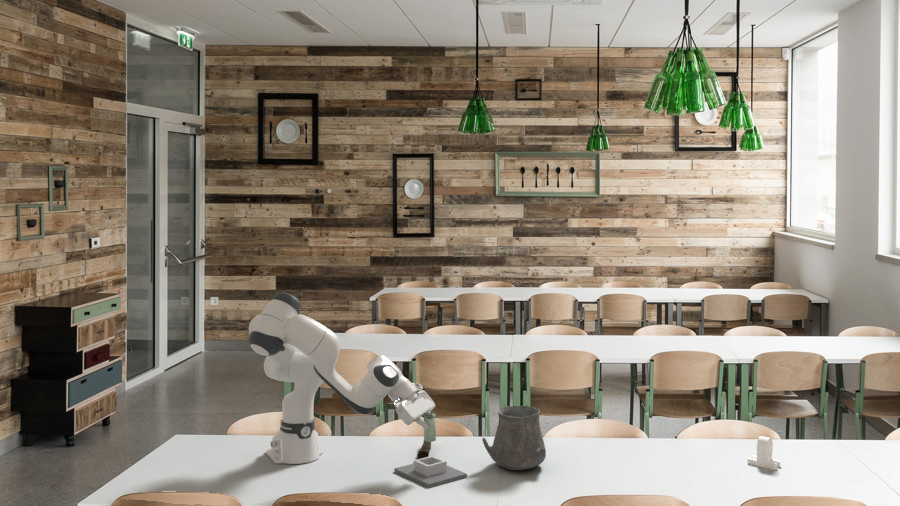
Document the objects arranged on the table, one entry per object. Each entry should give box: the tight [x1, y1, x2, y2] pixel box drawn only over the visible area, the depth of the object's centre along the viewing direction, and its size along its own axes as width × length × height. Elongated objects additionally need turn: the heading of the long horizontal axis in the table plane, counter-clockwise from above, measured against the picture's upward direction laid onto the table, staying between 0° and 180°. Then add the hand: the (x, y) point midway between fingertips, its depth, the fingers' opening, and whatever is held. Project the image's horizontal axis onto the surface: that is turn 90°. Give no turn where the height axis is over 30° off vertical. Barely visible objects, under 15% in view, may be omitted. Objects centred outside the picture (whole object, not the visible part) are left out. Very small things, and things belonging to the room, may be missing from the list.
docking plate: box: [393, 455, 468, 489], centre depth 277 cm, size 20×16×5 cm
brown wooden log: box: [416, 440, 432, 459], centre depth 301 cm, size 19×4×5 cm, turn 172°
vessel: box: [482, 405, 547, 471], centre depth 286 cm, size 22×22×20 cm
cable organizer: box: [747, 435, 781, 471], centre depth 285 cm, size 5×10×10 cm, turn 47°
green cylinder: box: [423, 411, 437, 443], centre depth 276 cm, size 4×4×9 cm
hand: (431, 426), depth 276 cm, fingers closed on green cylinder, 4 cm apart
